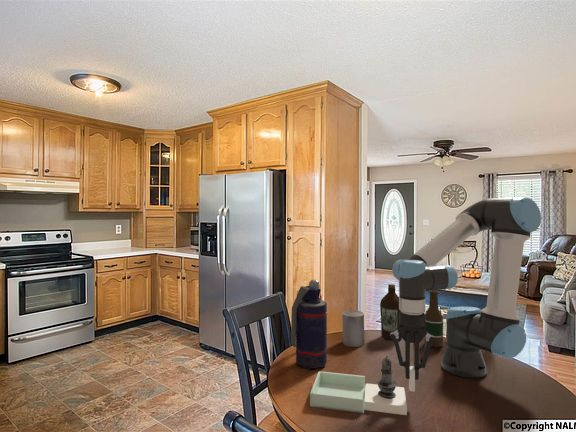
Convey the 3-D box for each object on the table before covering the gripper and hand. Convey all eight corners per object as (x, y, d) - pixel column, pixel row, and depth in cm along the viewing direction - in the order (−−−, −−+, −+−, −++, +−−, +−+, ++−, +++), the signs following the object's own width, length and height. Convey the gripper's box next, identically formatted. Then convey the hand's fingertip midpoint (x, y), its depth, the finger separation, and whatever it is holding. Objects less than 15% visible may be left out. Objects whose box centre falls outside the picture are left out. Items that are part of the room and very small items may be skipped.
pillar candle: (352, 338, 171) (351, 306, 171) (369, 343, 163) (368, 310, 163) (338, 343, 165) (337, 310, 164) (354, 349, 157) (354, 314, 157)
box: (366, 388, 121) (366, 376, 121) (364, 413, 106) (364, 399, 106) (318, 382, 125) (318, 371, 125) (310, 406, 110) (310, 393, 110)
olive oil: (383, 332, 179) (383, 281, 179) (405, 336, 174) (405, 283, 173) (377, 339, 169) (377, 285, 169) (400, 342, 164) (400, 287, 164)
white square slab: (404, 395, 117) (404, 387, 117) (406, 415, 105) (406, 406, 105) (365, 390, 119) (365, 383, 119) (364, 409, 108) (364, 401, 108)
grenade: (318, 356, 148) (318, 283, 148) (332, 368, 137) (332, 288, 137) (286, 361, 143) (286, 285, 143) (298, 374, 132) (298, 291, 132)
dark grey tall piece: (393, 389, 115) (393, 352, 115) (399, 399, 109) (399, 359, 109) (374, 389, 115) (374, 352, 115) (379, 399, 109) (379, 359, 109)
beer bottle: (444, 343, 163) (444, 290, 163) (441, 348, 157) (441, 293, 157) (426, 340, 168) (426, 288, 167) (422, 345, 161) (422, 291, 161)
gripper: (433, 309, 112) (432, 386, 112) (389, 307, 115) (389, 381, 115) (436, 316, 105) (436, 398, 105) (390, 313, 108) (390, 392, 108)
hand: (411, 389), depth 110 cm, fingers closed
